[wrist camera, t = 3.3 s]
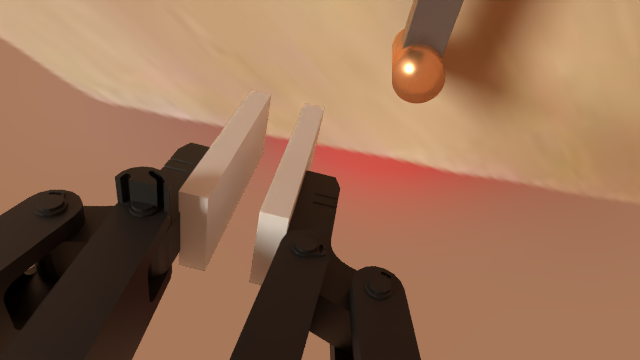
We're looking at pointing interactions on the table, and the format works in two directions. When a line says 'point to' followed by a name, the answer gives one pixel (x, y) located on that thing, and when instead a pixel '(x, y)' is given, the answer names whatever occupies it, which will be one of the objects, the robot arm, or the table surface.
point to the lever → (423, 49)
